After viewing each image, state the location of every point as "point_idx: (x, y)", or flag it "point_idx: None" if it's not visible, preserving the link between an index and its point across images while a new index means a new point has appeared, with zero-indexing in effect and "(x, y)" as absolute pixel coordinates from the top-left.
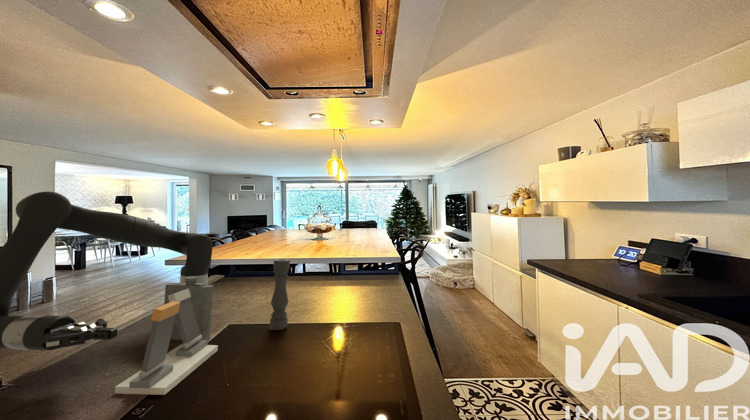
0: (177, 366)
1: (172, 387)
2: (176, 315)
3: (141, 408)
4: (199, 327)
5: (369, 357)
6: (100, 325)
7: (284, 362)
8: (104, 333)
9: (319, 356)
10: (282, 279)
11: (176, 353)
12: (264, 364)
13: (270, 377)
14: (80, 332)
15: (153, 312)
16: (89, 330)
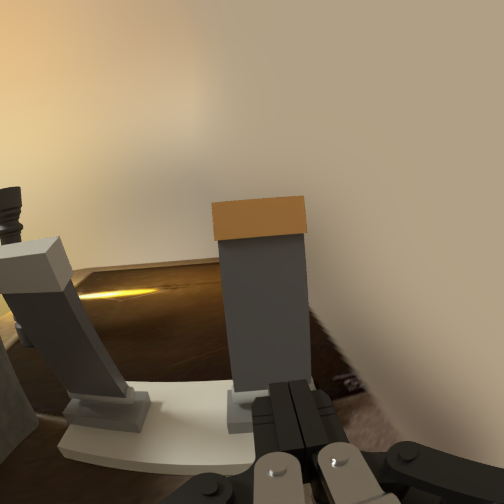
0: (207, 403)
1: None
2: (85, 325)
3: (348, 384)
4: (11, 397)
5: (180, 276)
6: (229, 501)
7: (181, 313)
8: (329, 397)
9: (169, 296)
10: (21, 229)
11: (138, 426)
12: (185, 326)
13: None
14: (409, 470)
15: (304, 207)
16: (359, 461)
